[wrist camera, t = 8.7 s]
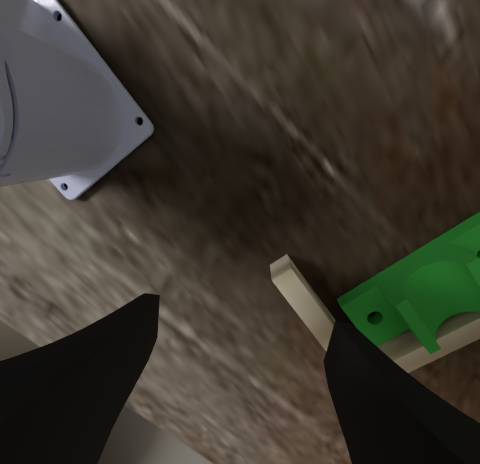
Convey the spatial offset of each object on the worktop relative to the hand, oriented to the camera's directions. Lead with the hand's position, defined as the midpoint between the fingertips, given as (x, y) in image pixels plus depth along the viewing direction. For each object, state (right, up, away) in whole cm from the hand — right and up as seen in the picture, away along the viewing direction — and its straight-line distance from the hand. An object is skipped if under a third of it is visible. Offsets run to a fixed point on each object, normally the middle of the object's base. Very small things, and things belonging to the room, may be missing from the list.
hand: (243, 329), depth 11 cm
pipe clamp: (+11, +2, +7) cm, 13 cm away
